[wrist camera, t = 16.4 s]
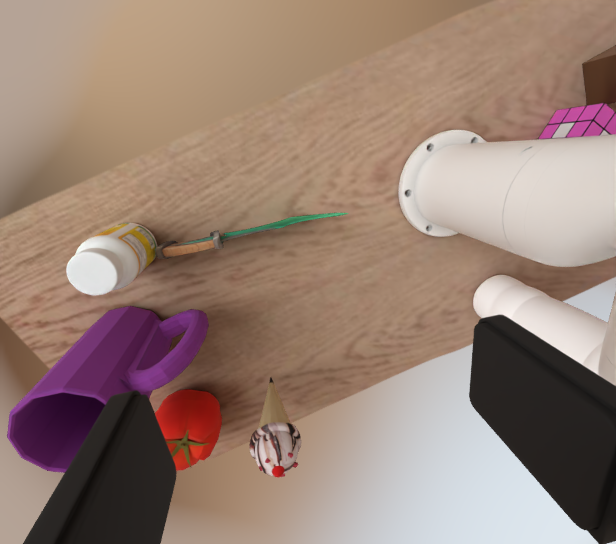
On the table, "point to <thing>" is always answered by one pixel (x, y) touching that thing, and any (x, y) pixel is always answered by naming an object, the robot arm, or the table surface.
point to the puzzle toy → (581, 122)
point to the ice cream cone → (275, 437)
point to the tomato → (190, 425)
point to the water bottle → (543, 318)
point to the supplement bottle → (111, 259)
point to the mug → (100, 379)
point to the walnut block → (601, 78)
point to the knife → (226, 237)
